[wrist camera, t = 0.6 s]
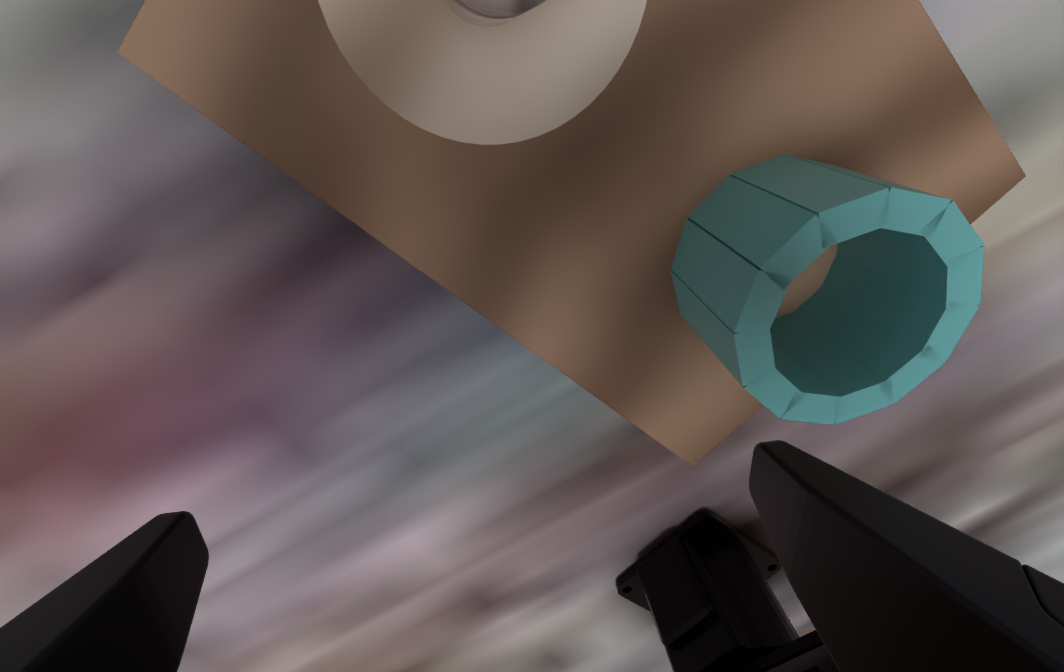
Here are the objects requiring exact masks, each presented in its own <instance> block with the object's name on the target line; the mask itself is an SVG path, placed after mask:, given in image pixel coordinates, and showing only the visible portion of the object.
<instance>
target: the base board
mask: <svg viewBox="0 0 1064 672" xmlns="http://www.w3.org/2000/svg"><path fill="white" fill-rule="evenodd" d="M117 53H118V54H120V55H121V56H123V57H124V58H125V59H127V60H128V61H130V62H131V63H132V64H134V65H135V66H136V67H138V68H139V69H141V70H142V71H143V72H145V73H146V74H148V75H149V76H150V77H152V78H153V79H155V80H156V81H157V82H159V83H160V84H161V85H163V86H164V87H166V88H167V89H168V90H170V91H171V92H173V93H174V94H175V95H177V96H178V97H180V98H181V99H182V100H184V101H185V102H187V103H188V104H189V105H191V106H192V107H193V108H195V109H196V110H198V111H199V112H200V113H202V114H203V115H205V116H206V117H207V118H209V119H210V120H212V121H213V122H214V123H216V124H217V125H218V126H220V127H221V128H223V129H224V130H225V131H227V132H228V133H230V134H231V135H232V136H234V137H235V138H237V139H238V140H239V141H241V142H242V143H243V144H245V145H246V146H248V147H249V148H250V149H252V150H253V151H255V152H256V153H257V154H259V155H260V156H262V157H263V158H264V159H266V160H267V161H268V162H270V163H271V164H273V165H274V166H275V167H277V168H278V169H280V170H281V171H282V172H284V173H285V174H287V175H288V176H289V177H291V178H292V179H294V180H295V181H296V182H298V183H299V184H300V185H302V186H303V187H305V188H306V189H307V190H309V191H310V192H312V193H313V194H314V195H316V196H317V197H319V198H320V199H321V200H323V201H324V202H325V203H327V204H328V205H330V206H331V207H332V208H334V209H335V210H337V211H338V212H339V213H341V214H342V215H344V216H345V217H346V218H348V219H349V220H350V221H352V222H353V223H355V224H356V225H357V226H359V227H360V228H362V229H363V230H364V231H366V232H367V233H369V234H370V235H371V236H373V237H374V238H375V239H377V240H378V241H380V242H381V243H382V244H384V245H385V246H387V247H388V248H389V249H391V250H392V251H394V252H395V253H396V254H398V255H399V256H401V257H402V258H403V259H405V260H406V261H407V262H409V263H410V264H412V265H413V266H414V267H416V268H417V269H419V270H420V271H421V272H423V273H424V274H426V275H427V276H428V277H430V278H431V279H432V280H434V281H435V282H437V283H438V284H439V285H441V286H442V287H444V288H445V289H446V290H448V291H449V292H451V293H452V294H453V295H455V296H456V297H457V298H459V299H460V300H462V301H463V302H464V303H466V304H467V305H469V306H470V307H471V308H473V309H474V310H476V311H477V312H478V313H480V314H481V315H482V316H484V317H485V318H487V319H488V320H489V321H491V322H492V323H494V324H495V325H496V326H498V327H499V328H501V329H502V330H503V331H505V332H506V333H508V334H509V335H510V336H512V337H513V338H514V339H516V340H517V341H519V342H520V343H521V344H523V345H524V346H526V347H527V348H528V349H530V350H531V351H533V352H534V353H535V354H537V355H538V356H539V357H541V358H542V359H544V360H545V361H546V362H548V363H549V364H551V365H552V366H553V367H555V368H556V369H558V370H559V371H560V372H562V373H563V374H564V375H566V376H567V377H569V378H570V379H571V380H573V381H574V382H576V383H577V384H578V385H580V386H581V387H583V388H584V389H585V390H587V391H588V392H590V393H591V394H592V395H594V396H595V397H596V398H598V399H599V400H601V401H602V402H603V403H605V404H606V405H608V406H609V407H610V408H612V409H613V410H615V411H616V412H617V413H619V414H620V415H621V416H623V417H624V418H626V419H627V420H628V421H630V422H631V423H633V424H634V425H635V426H637V427H638V428H640V429H641V430H642V431H644V432H645V433H646V434H648V435H649V436H651V437H652V438H653V439H655V440H656V441H658V442H659V443H660V444H662V445H663V446H665V447H666V448H667V449H669V450H670V451H671V452H673V453H674V454H676V455H677V456H678V457H680V458H681V459H683V460H684V461H685V462H687V463H688V464H690V465H691V466H692V467H693V466H694V465H695V464H696V463H697V462H699V461H700V460H701V459H702V458H703V457H704V456H705V455H707V454H708V453H709V452H710V451H711V450H712V449H714V448H715V447H716V446H717V445H718V444H719V443H720V442H722V441H723V440H724V439H725V438H726V437H727V436H728V435H730V434H731V433H732V432H733V431H734V430H735V429H736V428H738V427H739V426H740V425H741V424H742V423H743V422H744V421H746V420H747V419H748V418H749V417H750V416H751V415H752V414H754V413H755V412H756V411H757V410H758V409H759V408H761V407H762V406H763V404H762V403H761V402H759V401H758V400H757V399H756V398H755V397H754V396H752V395H751V394H750V393H749V392H748V391H747V390H745V389H744V388H743V387H742V386H741V384H740V383H739V382H738V381H737V380H736V379H735V377H734V376H733V375H732V374H731V373H730V372H729V370H728V369H727V368H726V367H725V366H724V365H723V363H722V362H721V361H720V360H719V359H718V358H717V356H716V355H715V354H714V353H713V352H712V351H711V349H710V348H709V347H708V346H707V345H706V344H705V343H704V341H703V340H702V339H701V338H700V337H699V336H698V334H697V333H696V332H695V331H694V330H693V329H692V327H691V326H690V325H689V324H688V323H687V322H686V320H685V319H684V318H683V317H682V316H681V314H680V311H679V306H678V302H677V298H676V293H675V289H674V284H673V280H672V275H671V266H672V263H673V260H674V256H675V253H676V250H677V247H678V244H679V241H680V238H681V235H682V232H683V229H684V226H685V223H686V219H690V218H688V216H689V215H690V214H691V213H692V212H693V211H694V210H695V209H696V208H697V207H698V206H699V205H700V204H701V203H702V202H703V201H704V200H705V199H706V197H707V196H708V195H709V194H710V193H711V192H712V191H713V190H714V189H715V188H716V187H717V186H718V185H719V184H720V183H721V182H722V181H723V180H724V179H725V178H726V177H727V176H728V175H729V176H730V174H731V173H733V172H736V171H739V170H742V169H744V168H747V167H750V166H753V165H755V164H758V163H761V162H763V161H766V160H769V159H772V158H774V157H777V156H780V155H785V154H786V155H790V156H795V157H800V158H805V159H809V160H814V161H819V162H824V163H828V164H833V165H836V166H840V167H843V168H846V169H850V170H853V171H857V172H860V173H863V174H867V175H870V176H873V177H877V178H880V179H883V180H887V181H890V182H894V183H897V184H900V185H904V186H907V187H910V188H914V189H917V190H921V191H924V192H927V193H931V194H934V195H937V196H941V197H944V198H947V199H951V200H952V201H954V202H955V204H956V205H957V207H958V208H959V210H960V211H961V212H962V214H963V215H964V217H965V218H966V220H967V221H968V222H969V224H971V223H973V222H974V221H975V220H976V219H977V218H978V217H980V216H981V215H982V214H983V213H984V212H985V211H986V210H988V209H989V208H990V207H991V206H992V205H993V204H994V203H996V202H997V201H998V200H999V199H1000V198H1001V197H1002V196H1004V195H1005V194H1006V193H1007V192H1008V191H1009V190H1010V189H1012V188H1013V187H1014V186H1015V185H1016V184H1017V183H1018V182H1020V181H1021V180H1022V179H1023V178H1024V177H1025V176H1026V175H1025V174H1024V172H1023V170H1022V169H1021V167H1020V165H1019V164H1018V162H1017V160H1016V159H1015V157H1014V156H1013V154H1012V152H1011V151H1010V149H1009V147H1008V146H1007V144H1006V142H1005V141H1004V139H1003V138H1002V136H1001V134H1000V133H999V131H998V129H997V128H996V126H995V124H994V123H993V121H992V119H991V118H990V116H989V115H988V113H987V111H986V110H985V108H984V106H983V105H982V103H981V101H980V100H979V98H978V97H977V95H976V93H975V92H974V90H973V88H972V87H971V85H970V83H969V82H968V80H967V78H966V77H965V75H964V74H963V72H962V70H961V69H960V67H959V65H958V64H957V62H956V60H955V59H954V57H953V56H952V54H951V52H950V51H949V49H948V47H947V46H946V44H945V42H944V41H943V39H942V37H941V36H940V34H939V33H938V31H937V29H936V28H935V26H934V24H933V23H932V21H931V19H930V18H929V16H928V15H927V13H926V11H925V10H924V8H923V6H922V5H921V3H920V1H919V0H547V1H545V2H543V3H542V4H540V5H538V6H536V7H535V8H533V9H531V10H529V11H527V12H526V13H524V14H522V15H520V16H519V17H517V18H515V19H513V20H511V21H509V22H507V23H505V24H502V25H499V26H493V27H484V26H478V25H475V24H471V23H469V22H467V21H465V20H464V19H462V18H460V17H459V16H458V15H457V14H455V13H454V12H453V11H452V10H451V9H450V7H449V6H448V5H447V4H446V2H445V1H444V0H145V2H144V4H143V6H142V8H141V9H140V11H139V13H138V15H137V17H136V19H135V21H134V22H133V24H132V26H131V28H130V30H129V32H128V34H127V35H126V37H125V39H124V41H123V43H122V45H121V47H120V48H119V50H118V52H117ZM690 220H691V219H690ZM836 254H837V244H834V245H831V246H830V247H828V248H827V249H826V250H825V251H824V252H823V253H822V254H821V255H820V256H819V257H818V258H817V259H816V260H815V261H813V262H812V263H811V264H810V265H809V266H808V267H807V268H806V269H805V270H804V271H803V272H802V273H801V274H800V275H798V276H797V277H796V278H795V279H794V280H793V281H792V282H791V283H790V284H789V286H788V288H787V291H786V293H785V295H784V298H783V300H782V302H781V305H780V307H779V309H778V312H777V314H776V316H775V318H778V317H781V316H784V315H787V314H790V313H792V312H794V311H795V310H796V309H797V308H798V307H800V306H801V305H802V304H803V303H804V302H805V301H806V300H807V299H808V298H809V297H811V296H812V295H813V294H814V293H815V292H816V291H817V290H818V289H819V288H820V287H821V286H822V285H823V282H824V280H825V278H826V276H827V274H828V271H829V269H830V267H831V265H832V263H833V260H834V258H835V256H836Z"/></svg>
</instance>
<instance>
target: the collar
mask: <svg viewBox="0 0 1064 672" xmlns="http://www.w3.org/2000/svg"><path fill="white" fill-rule="evenodd" d="M688 218H690V219H691V220H690V219H686V223H685V226H684V229H683V232H682V235H681V238H680V241H679V244H678V247H677V250H676V253H675V256H674V260H673V263H672V266H671V275H672V280H673V284H674V289H675V293H676V298H677V302H678V306H679V311H680V314H681V316H682V317H683V318H684V319H685V320H686V322H687V323H688V324H689V325H690V326H691V327H692V329H693V330H694V331H695V332H696V333H697V334H698V336H699V337H700V338H701V339H702V340H703V341H704V343H705V344H706V345H707V346H708V347H709V348H710V349H711V351H712V352H713V353H714V354H715V355H716V356H717V358H718V359H719V360H720V361H721V362H722V363H723V365H724V366H725V367H726V368H727V369H728V370H729V372H730V373H731V374H732V375H733V376H734V377H735V379H736V380H737V381H738V382H739V383H740V384H741V386H742V387H743V388H744V389H745V390H747V391H748V392H749V393H750V394H751V395H752V396H754V397H755V398H756V399H757V400H758V401H759V402H761V403H762V404H763V405H764V406H765V407H766V408H768V409H769V410H770V411H771V412H772V413H773V414H775V415H776V416H777V417H778V418H779V419H780V418H781V419H782V420H791V421H801V422H811V423H821V424H830V425H833V424H838V423H841V422H844V421H847V420H850V419H853V418H856V417H859V416H862V415H865V414H867V413H870V412H873V411H876V410H879V409H882V408H885V407H888V406H891V405H892V402H893V403H894V404H895V403H896V402H897V401H898V400H900V399H901V398H902V397H903V396H905V395H906V394H907V393H908V392H910V391H911V390H912V389H913V388H915V387H916V386H917V385H918V384H920V383H921V382H922V381H923V380H924V379H926V378H927V377H928V376H929V375H931V374H932V373H933V372H934V371H936V370H937V369H938V368H939V367H941V366H942V365H943V364H944V362H943V361H947V360H948V358H949V356H950V354H951V353H952V351H953V349H954V348H955V346H956V344H957V343H958V341H959V339H960V338H961V336H962V334H963V333H964V331H965V329H966V328H967V326H968V324H969V323H970V321H971V319H972V318H973V316H974V314H975V313H976V311H977V309H978V308H979V306H978V304H980V299H981V285H982V272H983V258H984V246H982V245H983V242H982V241H981V239H980V238H979V237H978V235H977V234H976V232H975V231H974V229H973V228H972V227H971V225H970V224H969V222H968V221H967V220H966V218H965V217H964V215H963V214H962V212H961V211H960V210H959V208H958V207H957V205H956V204H955V202H954V201H952V200H951V199H947V198H944V197H941V196H937V195H934V194H931V193H927V192H924V191H921V190H917V189H914V188H910V187H907V186H904V185H900V184H897V183H894V182H890V181H887V180H883V179H880V178H877V177H873V176H870V175H867V174H863V173H860V172H857V171H853V170H850V169H846V168H843V167H840V166H836V165H833V164H828V163H824V162H819V161H814V160H809V159H805V158H800V157H795V156H790V155H786V154H785V155H780V156H777V157H774V158H772V159H769V160H766V161H763V162H761V163H758V164H755V165H753V166H750V167H747V168H744V169H742V170H739V171H736V172H733V173H731V174H730V176H729V175H728V176H727V177H726V178H725V179H724V180H723V181H722V182H721V183H720V184H719V185H718V186H717V187H716V188H715V189H714V190H713V191H712V192H711V193H710V194H709V195H708V196H707V197H706V199H705V200H704V201H703V202H702V203H701V204H700V205H699V206H698V207H697V208H696V209H695V210H694V211H693V212H692V213H691V214H690V215H689V216H688ZM834 244H837V254H836V256H835V258H834V260H833V263H832V265H831V267H830V269H829V271H828V274H827V276H826V278H825V280H824V282H823V285H822V286H821V287H820V288H819V289H818V290H817V291H816V292H815V293H814V294H813V295H812V296H811V297H809V298H808V299H807V300H806V301H805V302H804V303H803V304H802V305H801V306H800V307H798V308H797V309H796V310H795V311H794V312H792V313H790V314H787V315H784V316H781V317H778V318H775V316H776V314H777V312H778V309H779V307H780V305H781V302H782V300H783V298H784V295H785V293H786V291H787V288H788V286H789V284H790V283H791V282H792V281H793V280H794V279H795V278H796V277H797V276H798V275H800V274H801V273H802V272H803V271H804V270H805V269H806V268H807V267H808V266H809V265H810V264H811V263H812V262H813V261H815V260H816V259H817V258H818V257H819V256H820V255H821V254H822V253H823V252H824V251H825V250H826V249H827V248H828V247H830V246H831V245H834Z"/></svg>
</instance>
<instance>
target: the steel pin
mask: <svg viewBox="0 0 1064 672" xmlns="http://www.w3.org/2000/svg"><path fill="white" fill-rule="evenodd" d="M444 1H445V2H446V4H447V5H448V6H449V7H450V9H451V10H452V11H453V12H454V13H455V14H457V15H458V16H459V17H460V18H462V19H464V20H465V21H467V22H469V23H471V24H475V25H478V26H484V27H493V26H499V25H502V24H505V23H507V22H509V21H511V20H513V19H515V18H517V17H519V16H520V15H522V14H524V13H526V12H527V11H529V10H531V9H533V8H535V7H536V6H538V5H540V4H542V3H543V2H545V1H547V0H444Z"/></svg>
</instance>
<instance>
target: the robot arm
mask: <svg viewBox="0 0 1064 672" xmlns="http://www.w3.org/2000/svg"><path fill="white" fill-rule="evenodd" d="M749 489H750V493H751V496H752V499H753V501H754V503H755V506H756V508H757V510H758V512H759V515H760V517H761V519H762V522H763V524H764V526H765V529H766V531H767V533H768V535H769V538H770V540H771V542H772V545H773V547H774V549H775V552H776V554H777V556H778V558H779V560H778V558H777V557H776V556H775V555H774V554H772V553H771V552H770V551H768V550H767V549H765V548H764V547H762V546H761V545H759V544H758V543H756V542H755V541H753V540H752V539H751V538H749V537H748V536H746V535H745V534H743V533H742V532H740V531H739V530H737V529H736V528H734V527H733V526H732V525H730V524H729V523H727V522H726V521H724V520H723V519H721V518H720V517H718V516H717V515H715V514H714V513H713V512H711V511H708V510H704V511H701V512H699V513H697V514H696V515H695V516H694V517H693V518H691V519H690V520H689V521H688V522H687V523H685V524H684V525H683V526H682V527H681V528H679V529H678V530H677V531H676V532H675V533H673V534H672V535H671V536H670V537H669V538H667V539H666V540H665V541H664V542H663V543H662V544H660V545H659V546H658V547H657V548H656V549H654V550H653V551H652V552H651V553H650V554H648V555H647V556H646V557H645V558H644V559H642V560H641V561H640V562H639V563H638V564H636V565H635V566H634V567H633V568H632V569H631V570H629V571H628V572H627V573H626V574H625V575H623V576H622V577H621V578H620V579H619V580H618V581H617V582H616V587H617V590H618V594H619V595H621V596H623V597H624V598H626V599H628V600H630V601H632V602H634V603H636V604H637V605H639V606H641V607H643V608H645V609H647V610H649V611H651V613H652V616H653V619H654V622H655V624H656V627H657V630H658V633H659V636H660V639H661V642H662V643H663V645H664V646H665V649H666V652H667V655H668V658H669V661H670V663H671V666H672V669H673V672H1064V583H1062V582H1060V581H1058V580H1056V579H1054V578H1052V577H1050V576H1048V575H1046V574H1044V573H1042V572H1040V571H1038V570H1036V569H1034V568H1032V567H1030V566H1028V565H1021V563H1020V562H1019V561H1018V560H1016V559H1014V558H1012V557H1010V556H1008V555H1006V554H1004V553H1002V552H1000V551H999V550H997V549H995V548H993V547H991V546H989V545H987V544H985V543H983V542H981V541H979V540H977V539H975V538H973V537H971V536H969V535H967V534H965V533H963V532H961V531H959V530H957V529H955V528H953V527H951V526H949V525H947V524H945V523H943V522H941V521H940V520H938V519H936V518H934V517H932V516H930V515H928V514H926V513H924V512H922V511H920V510H918V509H916V508H914V507H912V506H910V505H908V504H906V503H904V502H902V501H900V500H898V499H896V498H894V497H892V496H890V495H888V494H886V493H884V492H882V491H880V490H879V489H877V488H875V487H873V486H871V485H869V484H867V483H865V482H863V481H861V480H859V479H857V478H855V477H853V476H851V475H849V474H847V473H845V472H843V471H841V470H839V469H837V468H835V467H833V466H831V465H829V464H827V463H825V462H823V461H821V460H820V459H818V458H816V457H814V456H812V455H810V454H808V453H806V452H804V451H802V450H800V449H798V448H796V447H794V446H792V445H790V444H788V443H786V442H784V441H780V440H777V441H768V442H761V443H758V444H757V445H756V446H755V448H754V451H753V458H752V464H751V471H750V478H749ZM208 561H209V553H208V549H207V546H206V544H205V541H204V539H203V537H202V534H201V532H200V530H199V528H198V525H197V523H196V521H195V518H194V517H193V515H192V514H191V513H189V512H186V511H180V512H172V513H164V514H160V515H158V516H156V517H154V518H153V519H152V520H150V521H149V522H147V523H146V524H145V525H143V526H142V527H140V528H139V529H138V530H136V531H135V532H133V533H132V534H131V535H129V536H128V537H126V538H125V539H124V540H122V541H121V542H120V543H118V544H117V545H115V546H114V547H113V548H111V549H110V550H108V551H107V552H106V553H104V554H103V555H101V556H100V557H99V558H97V559H96V560H94V561H93V562H92V563H90V564H89V565H87V566H86V567H85V568H83V569H82V570H80V571H79V572H78V573H76V574H75V575H73V576H72V577H71V578H69V579H68V580H66V581H65V582H64V583H62V584H61V585H59V586H58V587H57V588H55V589H54V590H53V591H51V592H50V593H48V594H47V595H46V596H44V597H43V598H41V599H40V600H39V601H37V602H36V603H34V604H33V605H32V606H30V607H29V608H27V609H26V610H25V611H23V612H22V613H20V614H19V615H18V616H16V617H15V618H13V619H12V620H11V621H9V622H8V623H6V624H5V625H4V626H2V627H1V628H0V672H177V670H178V668H179V665H180V662H181V659H182V655H183V652H184V649H185V646H186V642H187V638H188V635H189V631H190V628H191V624H192V620H193V617H194V613H195V610H196V606H197V603H198V599H199V595H200V592H201V588H202V585H203V581H204V577H205V574H206V570H207V567H208ZM781 565H782V568H783V570H784V572H785V574H786V576H787V578H788V580H789V582H790V584H791V586H792V588H793V590H794V592H795V593H796V595H797V597H798V599H799V601H800V602H801V604H802V606H803V608H804V609H805V611H806V613H807V615H808V616H809V618H810V620H811V622H812V624H813V625H814V627H815V629H816V630H815V631H813V632H810V633H808V634H806V635H804V636H802V637H799V635H798V634H797V632H796V630H795V629H794V627H793V625H792V623H791V622H790V620H789V618H788V617H787V615H786V613H785V612H784V610H783V608H782V607H781V605H780V603H779V601H778V600H777V598H776V596H775V595H774V593H773V591H772V590H771V588H770V586H769V584H768V583H767V581H766V580H767V579H768V578H770V577H771V576H772V575H773V574H775V573H776V572H777V571H778V570H779V569H780V568H781Z"/></svg>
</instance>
